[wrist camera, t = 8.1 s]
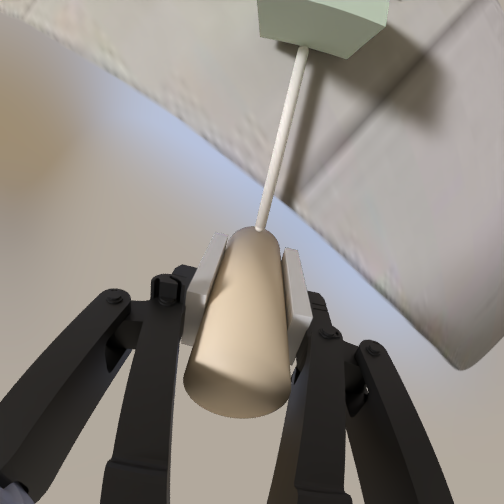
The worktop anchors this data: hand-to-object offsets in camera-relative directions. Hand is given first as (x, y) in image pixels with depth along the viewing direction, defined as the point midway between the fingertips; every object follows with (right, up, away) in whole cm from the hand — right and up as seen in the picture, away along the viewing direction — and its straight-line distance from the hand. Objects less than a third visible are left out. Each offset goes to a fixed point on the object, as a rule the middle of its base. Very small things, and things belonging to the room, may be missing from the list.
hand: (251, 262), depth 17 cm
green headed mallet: (+2, +8, -2) cm, 8 cm away
